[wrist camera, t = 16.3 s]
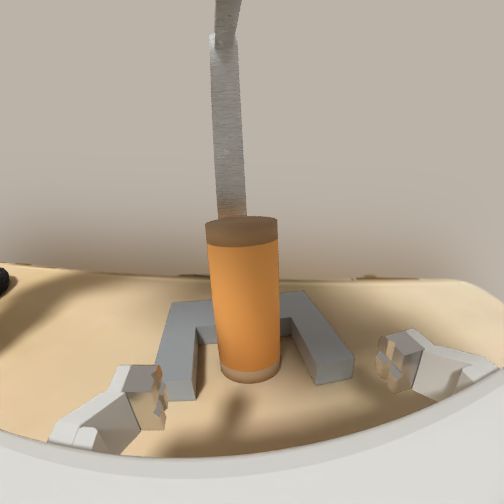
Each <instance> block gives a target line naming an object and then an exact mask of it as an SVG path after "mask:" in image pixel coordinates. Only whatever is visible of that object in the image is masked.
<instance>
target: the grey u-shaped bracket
mask: <svg viewBox="0 0 504 504" xmlns="http://www.w3.org/2000/svg"><path fill="white" fill-rule="evenodd" d="M279 302H280V336H286V335H291V336H292V338H293V340H294V342H295V344H296V346H297V348H298V350H299V352H300V354H301V356H302V358H303V360H304V362H305V364H306V366H307V368H308V371H309V373H310V375H311V377H312V379H313V381H314V383H315V385H321V384H326V383H331V382H335V381H340V380H344V379H348V378H352V373H353V366H354V360H355V357H354V356H353V355H352V353H351V352H350V351H349V349H348V348H347V347H346V345H345V344H344V343H343V341H342V340H341V339H340V337H339V336H338V335H337V333H336V332H335V331H334V329H333V328H332V327H331V325H330V324H329V323H328V321H327V320H326V319H325V318H324V316H323V315H322V314H321V312H320V311H319V310H318V308H317V307H316V306H315V304H314V303H313V302H312V301H311V299H310V298H309V297H308V295H307V294H306V293H305V291H304V290H303V291H294V292H285V293H279ZM211 343H218V342H217V334H216V326H215V318H214V309H213V300H201V301H188V302H174V303H172V304H171V308H170V311H169V314H168V318H167V321H166V325H165V328H164V332H163V335H162V339H161V342H160V346H159V350H158V353H157V357H156V361H155V365H159V366H160V367H161V370H162V373H163V376H162V381H163V382H164V383H165V384H166V388H167V393H168V401H188V400H196V382H197V362H198V345H199V344H211Z"/></svg>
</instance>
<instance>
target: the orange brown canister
mask: <svg viewBox="0 0 504 504" xmlns="http://www.w3.org/2000/svg"><path fill="white" fill-rule="evenodd" d="M205 228H206V240H207V251H208V261H209V271H210V282H211V291H212V300H213V309H214V318H215V326H216V334H217V342H218V350H219V357H220V365H221V371H222V373H223V374H224V375H225V376H226V377H227V378H229V379H230V380H232V381H235V382H239V383H249V384H250V383H259V382H263V381H265V380H268V379H270V378H271V377H273V376H274V375H275V374H276V373H277V372H278V371H279V369H280V302H279V263H278V232H277V219H275V218H271V217H261V216H250V217H249V216H246V217H232V218H224V219H218V220H214V221H210V222H208V223H206V224H205Z"/></svg>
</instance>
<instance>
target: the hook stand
mask: <svg viewBox="0 0 504 504" xmlns="http://www.w3.org/2000/svg"><path fill="white" fill-rule="evenodd" d="M241 1H242V0H215V21H214V22H215V23H214V34H210V71H211V72H210V73H211V101H212V122H213V123H212V124H213V143H214V162H215V178H216V194H217V208H218V219H224V218H232V217H246V216H247V212H246V195H245V194H246V193H245V176H244V158H243V142H242V141H243V140H242V121H241V103H240V84H239V65H238V46H237V33H236V27H237V22H238V16H239V11H240V6H241Z"/></svg>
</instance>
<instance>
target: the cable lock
mask: <svg viewBox="0 0 504 504" xmlns="http://www.w3.org/2000/svg"><path fill="white" fill-rule="evenodd" d="M8 285H9V274H8V272H7V271H6V270H5V269H4V268H0V295H1V294H2V293H3V292H4V291H5V290H6V289H7V287H8Z"/></svg>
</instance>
